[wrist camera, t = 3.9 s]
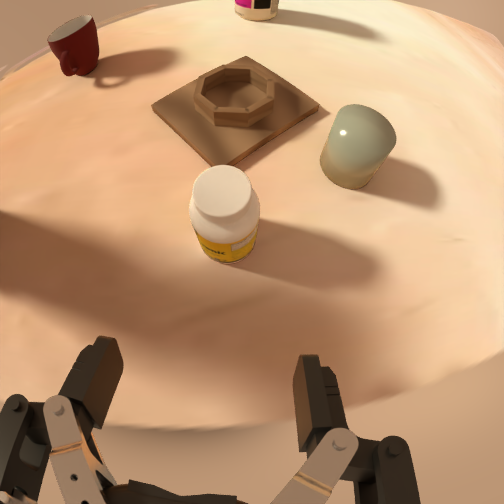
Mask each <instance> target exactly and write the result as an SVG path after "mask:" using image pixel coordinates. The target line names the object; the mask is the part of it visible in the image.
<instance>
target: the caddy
mask: <svg viewBox="0 0 504 504" xmlns="http://www.w3.org/2000/svg"><path fill="white" fill-rule="evenodd" d="M319 105H320V104H318V103H317V102H316V101H314V100H313V99H312V98H310V97H309V96H308V95H306V94H305V93H303V92H302V91H300V90H299V89H298V88H296V87H295V86H293V85H292V84H290V83H289V82H287V81H286V80H284V79H283V78H281V77H280V76H278V75H277V74H275V73H274V72H272V71H270V70H269V69H267V68H266V67H264V66H262V65H261V64H259V63H258V62H256V61H254V60H253V59H251V58H249V57H247V56H244V57H242V58H240V59H238V60H235V61H233V62H231V63H229V64H226V65H222V66H219V67H217V68H215V69H213V70H211V71H209V72H207V73H205V74H203V75H201V76H199V78H198V79H196V80H194V81H192V82H190V83H188V84H187V85H185V86H183V87H181V88H179V89H178V90H176V91H174V92H172V93H170V94H169V95H167V96H165V97H164V98H162V99H160V100H159V101H157V102H155V103H154V104H152V105H151V106H152V109H153V111H154V112H155V113H156V114H157V115H158V116H159V117H160V118H161V119H162V120H163V121H164V122H165V123H166V124H167V125H168V126H170V127H171V128H172V129H173V130H174V131H175V132H176V133H177V134H178V135H179V136H180V137H181V138H182V139H183V140H184V141H185V142H186V143H187V144H188V145H190V146H191V147H192V148H193V149H194V150H195V151H196V152H197V153H198V154H199V155H200V156H201V157H202V158H203V159H204V160H205V161H206V162H207V163H208V164H209V165H210V166H211V167H213V166H218V165H229V166H234V165H235V164H236V163H238V162H239V161H241V160H242V159H244V158H245V157H246V156H248V155H249V154H251V153H252V152H254V151H255V150H257V149H258V148H260V147H261V146H263V145H264V144H266V143H267V142H269V141H270V140H272V139H273V138H275V137H276V136H278V135H279V134H281V133H282V132H284V131H286V130H287V129H289V128H290V127H292V126H293V125H295V124H297V123H298V122H300V121H301V120H303V119H305V118H306V117H308V116H310V115H311V114H313V113H314V112H316V111H318V108H319Z"/></svg>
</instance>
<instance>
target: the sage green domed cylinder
mask: <svg viewBox="0 0 504 504" xmlns="http://www.w3.org/2000/svg"><path fill="white" fill-rule="evenodd" d="M395 144H396V134H395V131H394V129H393V127H392V125H391V124H390V122H389V121H388V120H387V119H386V118H385V117H384V116H383V115H381V114H380V113H379V112H377V111H375V110H374V109H372V108H369V107H366V106H363V105H356V104H353V105H347V106H344V107H343V108H341V109H340V110H339V112H338V113H337V116H336V118H335V121H334V123H333V126H332V128H331V131H330V133H329V136H328V138H327V141H326V143H325V146H324V148H323V151H322V153H321V156H320V165H321V168H322V170H323V172H324V174H325V175H326V176H327V177H328V178H329V179H330V180H331V181H332V182H333V183H335V184H336V185H338V186H341V187H343V188H347V189H358V188H361V187H363V186H365V185H366V184H367V183H368V182H369V181H370V179H371V178H372V177H373V175H374V174H375V173H376V171H377V170H378V168H379V167H380V166H381V164H382V163H383V162H384V160H385V159H386V157H387V156H388V155H389V153H390V152H391V150H392V149H393V148H394V146H395Z"/></svg>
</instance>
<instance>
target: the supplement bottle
mask: <svg viewBox="0 0 504 504" xmlns="http://www.w3.org/2000/svg"><path fill="white" fill-rule="evenodd" d="M192 195H193V196H192V198H191V201H190V205H189V216H190V220H191V223H192V226H193V228H194V230H195V233H196V235H197V237H198V240H199V243H200V245H201V247H202V249H203V251H204V252H205V254H206V255H207V256H208V257H209V258H211V259H212V260H214V261H216V262H219V263H223V264H231V263H236V262H239V261H241V260H242V259H244V258H245V257H247V256H248V255H249V254H250V252H251V251H252V249H253V247H254V245H255V241H256V236H257V229H258V222H259V216H260V203H259V199H258V197H257V194H256V193H255V191H254V190H253V188H252V185H251V182H250V180H249V178H248V177H247V175H246V174H245V173H244V172H243V171H241V170H240V169H238V168H236V167H233V166H229V165H218V166H213V167H211V168H208V169H206V170H205V171H203V172H202V173H201V174H200V175H199V176H198V177H197V179H196V181H195V182H194V185H193V189H192Z"/></svg>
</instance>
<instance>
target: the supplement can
mask: <svg viewBox="0 0 504 504" xmlns="http://www.w3.org/2000/svg"><path fill="white" fill-rule="evenodd" d="M278 3H279V0H235V13H236V14H237V15H239V16H240V17H241V18H244V19H247V20H253V21H262V20H268V19H271V18H273V17H274V16H276V15H277V11H278Z"/></svg>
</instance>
